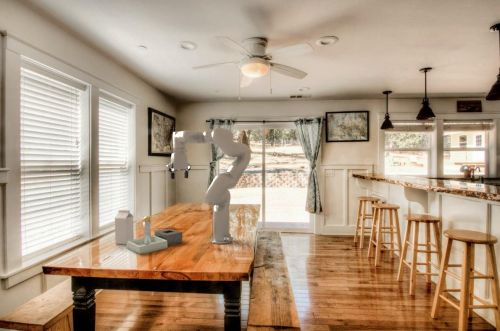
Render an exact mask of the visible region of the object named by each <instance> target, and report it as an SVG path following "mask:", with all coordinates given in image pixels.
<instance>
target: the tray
mask: <svg viewBox="0 0 500 331" xmlns="http://www.w3.org/2000/svg"><path fill="white" fill-rule="evenodd" d="M126 249H127V250H129V251H131V252H132V253H135V254H137V255H139V256H141V255H145V254H148V253H153V252H156V251H160V250H165V249H168V246H167V240H164V239H162V238H159V237H156V236H155V235H151V244H148V245H144V237H140V238H134V240H130V241H127V244H126Z"/></svg>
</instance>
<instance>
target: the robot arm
mask: <svg viewBox="0 0 500 331" xmlns="http://www.w3.org/2000/svg"><path fill="white" fill-rule="evenodd" d="M233 139H234V134H233V132H232V130H230V129H228V128H224V127H223V128H222V127H217V128H214V129H213V128H211V129H206V130H205V131H195V130H186V129H185V130H182V131H174V132H173V133H172V153H171V156H170V163H168V164H167V165H166V168H167V170H168V172H169V173H170V179H171V180H175V178H176V177H175V175H176V173H175V171H176V170H183V171H184V172H183V173H184V179H189V173H190V171H191V168H192V166H193V165H192V164H191V163H189V161H188V155H187V151H188V150H187V148H186V144H208V145H209V144H211V145H212V144H213V145H216V146H217V147H218V148H219V149H220V150H221V151H222V152H223V153H224V154H225V155H226V156H227V157H230V158H235V159H234V160H233V161H232V162H231V164H230V165H229V166H228V169H227V170H226V171H225V172H221V173H218V174H217V175H216V176H215V177H214V178H213V180H211V181H212V182H211V183H210V185H209V186H208V188H207V190H206V192H205V195H204V200H205V203H206V204H207V205H209V206H212V207H213V209H212V226H213V227H212V232H213V233H212V235H213V236H212V237H211V238H210V243H212V244H214V245H215V244H216V245H217V244H218V245H224V244H230V243H231V242H233V239H234V237H233V236H232V235H231V233H230V205H231V204H230V203H231V192H230V189H233V188H236V186H237V184H238V182H239V181H240V179H241V178H242V176H243V174H244V173H245V170H246V169H247V168H248V166H249V164H250V162H251V158H252V154H251V150H250V148H249V146H248V145H247V144H245V143H244V142H239V141H237V142H236V141H234V140H233Z"/></svg>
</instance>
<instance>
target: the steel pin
mask: <svg viewBox="0 0 500 331" xmlns="http://www.w3.org/2000/svg"><path fill="white" fill-rule="evenodd" d="M142 219H143V225H142V226H143V230H142V231H143V238H144V245H148V244H151V236H152V235H151V232H152V231H151V216H149V215H148V216H143V218H142Z"/></svg>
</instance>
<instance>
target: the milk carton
mask: <svg viewBox="0 0 500 331" xmlns="http://www.w3.org/2000/svg"><path fill="white" fill-rule="evenodd" d="M130 211H131V210H128V209H119V210H118V213H117V214H116V215H115V217H114V234H115V235H114V238H115V239H114V241H115V242H114V243H115V244H116V245H127V241H130V240H135V238H134V237H135V236H134V235H135V234H134V215H133V214H132V213H131V212H130Z"/></svg>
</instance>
